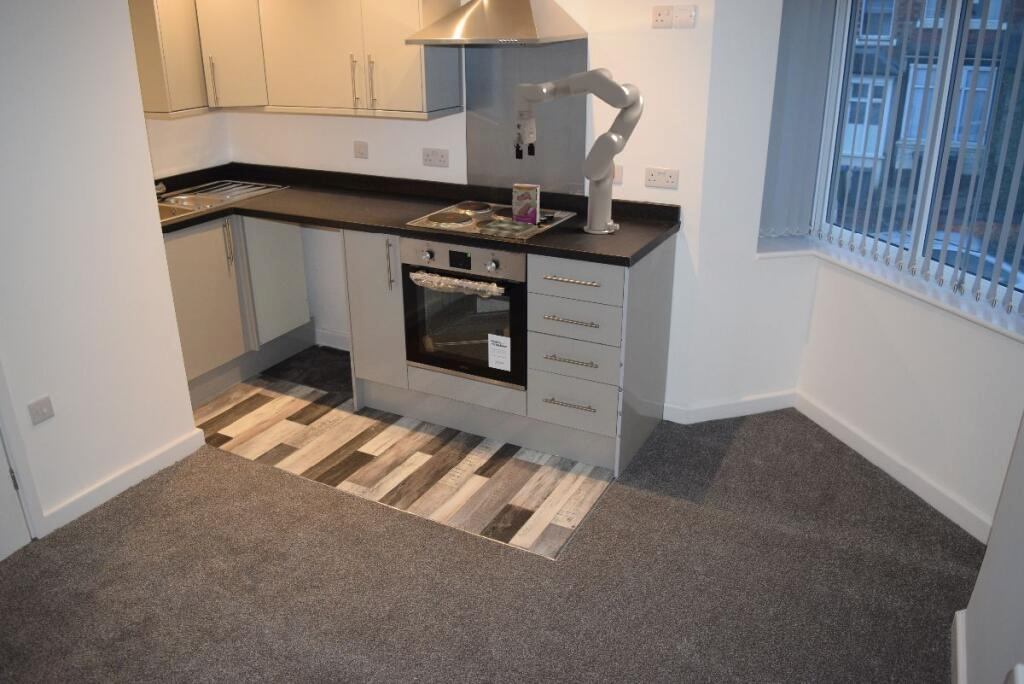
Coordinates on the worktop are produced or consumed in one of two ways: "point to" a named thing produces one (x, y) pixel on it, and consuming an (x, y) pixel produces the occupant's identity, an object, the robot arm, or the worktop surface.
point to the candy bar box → (525, 203)
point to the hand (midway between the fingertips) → (525, 157)
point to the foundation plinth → (508, 228)
